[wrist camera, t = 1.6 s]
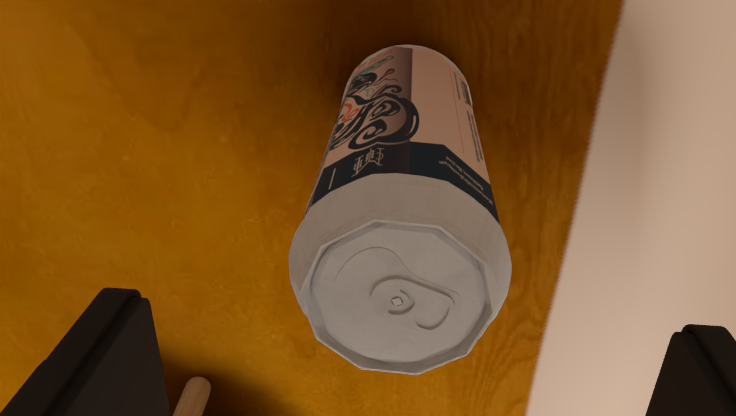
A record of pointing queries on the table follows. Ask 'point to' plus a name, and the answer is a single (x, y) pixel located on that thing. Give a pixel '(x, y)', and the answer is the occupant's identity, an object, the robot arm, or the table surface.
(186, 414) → the toy sheep
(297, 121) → the table surface
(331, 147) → the beer can
